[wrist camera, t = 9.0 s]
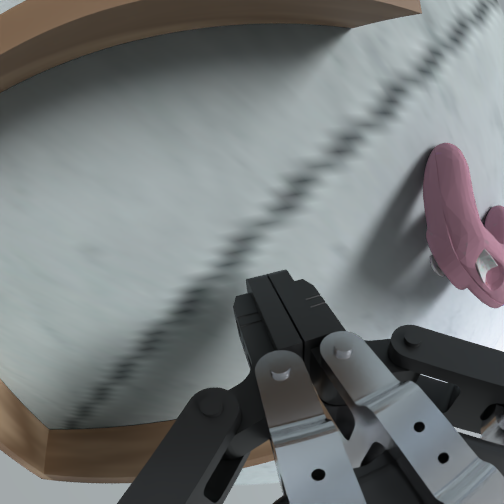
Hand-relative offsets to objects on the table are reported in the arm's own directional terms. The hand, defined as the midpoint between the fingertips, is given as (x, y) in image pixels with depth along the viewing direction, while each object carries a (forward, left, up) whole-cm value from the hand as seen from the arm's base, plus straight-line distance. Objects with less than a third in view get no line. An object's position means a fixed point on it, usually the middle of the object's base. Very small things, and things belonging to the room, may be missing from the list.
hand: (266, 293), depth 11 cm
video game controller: (0, +12, -2) cm, 12 cm away
